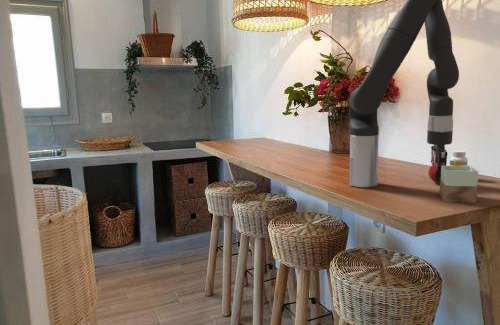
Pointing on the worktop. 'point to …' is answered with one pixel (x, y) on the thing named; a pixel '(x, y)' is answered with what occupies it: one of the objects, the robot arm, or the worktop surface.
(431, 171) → the onion
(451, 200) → the bottom block
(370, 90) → the robot arm
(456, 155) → the supplement bottle
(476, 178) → the top block
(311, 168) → the worktop surface
